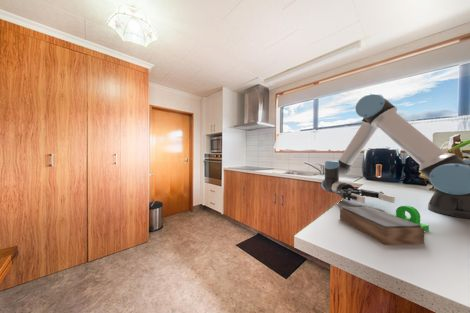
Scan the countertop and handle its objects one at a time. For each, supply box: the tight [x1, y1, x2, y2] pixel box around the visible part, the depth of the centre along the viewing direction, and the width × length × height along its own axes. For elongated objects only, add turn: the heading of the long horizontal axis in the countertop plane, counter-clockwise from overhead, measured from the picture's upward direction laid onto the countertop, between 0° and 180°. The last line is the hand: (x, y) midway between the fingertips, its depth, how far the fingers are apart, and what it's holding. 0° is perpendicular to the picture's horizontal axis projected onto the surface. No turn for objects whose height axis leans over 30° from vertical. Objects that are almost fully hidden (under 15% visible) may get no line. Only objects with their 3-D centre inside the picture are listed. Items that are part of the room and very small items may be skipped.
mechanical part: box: [390, 205, 430, 232], centre depth 60 cm, size 12×6×8 cm, turn 12°
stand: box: [339, 206, 425, 246], centre depth 55 cm, size 12×18×5 cm, turn 4°
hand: (379, 200), depth 70 cm, fingers open, 13 cm apart
